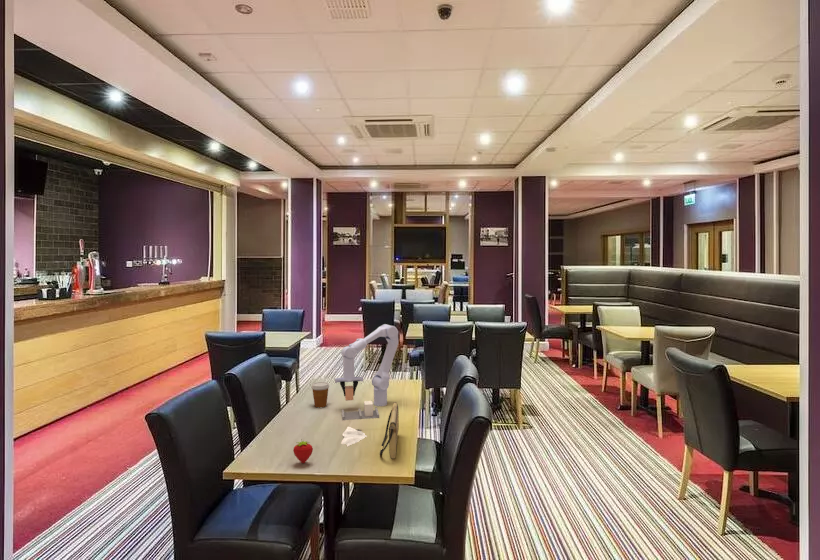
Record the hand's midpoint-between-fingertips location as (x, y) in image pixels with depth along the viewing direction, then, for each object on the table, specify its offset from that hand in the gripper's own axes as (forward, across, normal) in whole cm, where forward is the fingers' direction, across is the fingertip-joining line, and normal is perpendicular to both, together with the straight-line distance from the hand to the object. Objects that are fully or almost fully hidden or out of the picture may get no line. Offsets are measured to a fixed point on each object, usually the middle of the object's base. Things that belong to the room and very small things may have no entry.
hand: (349, 395), depth 241 cm
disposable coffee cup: (+8, -15, +12) cm, 21 cm away
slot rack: (+8, +5, -10) cm, 14 cm away
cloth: (+9, 0, -35) cm, 36 cm away
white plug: (+7, +9, -10) cm, 15 cm away
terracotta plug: (+2, 0, 0) cm, 2 cm away
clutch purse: (+9, +15, -50) cm, 53 cm away
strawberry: (+8, -20, -60) cm, 64 cm away
